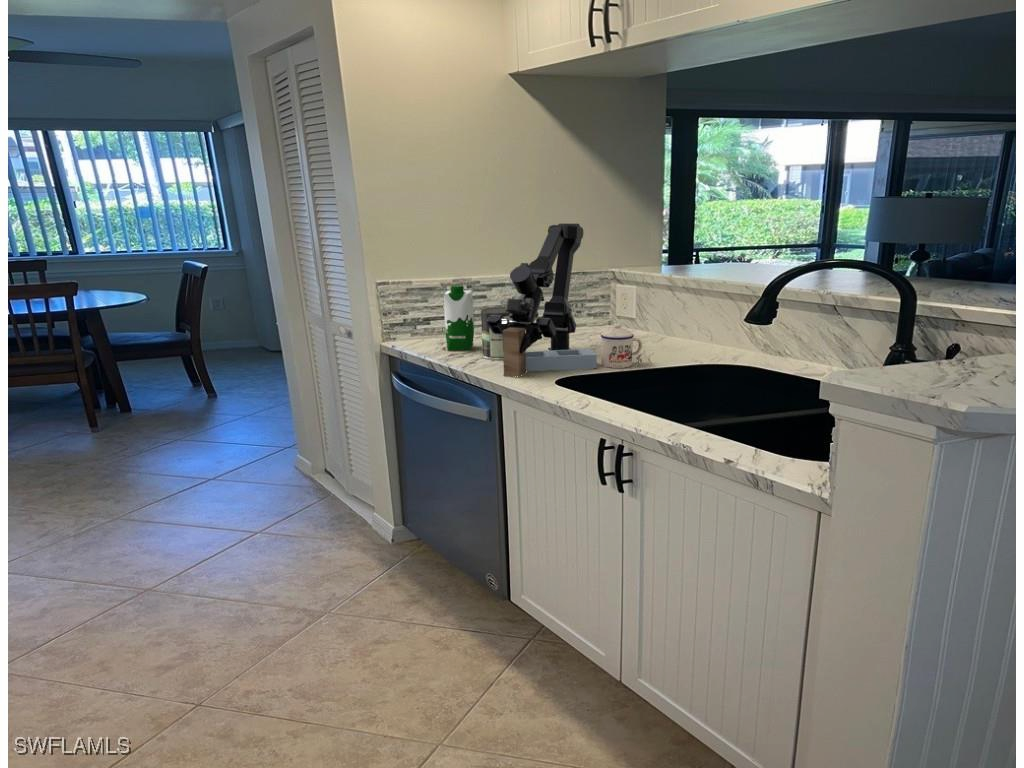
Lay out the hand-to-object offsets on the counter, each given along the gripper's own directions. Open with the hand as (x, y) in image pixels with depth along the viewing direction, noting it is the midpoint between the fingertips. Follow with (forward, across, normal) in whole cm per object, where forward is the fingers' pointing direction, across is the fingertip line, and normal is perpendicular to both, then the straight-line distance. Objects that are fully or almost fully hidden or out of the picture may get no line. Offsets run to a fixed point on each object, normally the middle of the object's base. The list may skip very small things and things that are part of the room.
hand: (512, 352), depth 204 cm
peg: (+4, 0, +6) cm, 7 cm away
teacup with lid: (-11, +23, +21) cm, 33 cm away
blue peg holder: (-5, +7, +14) cm, 16 cm away
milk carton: (-14, -31, +24) cm, 42 cm away
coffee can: (-10, -14, +20) cm, 26 cm away
